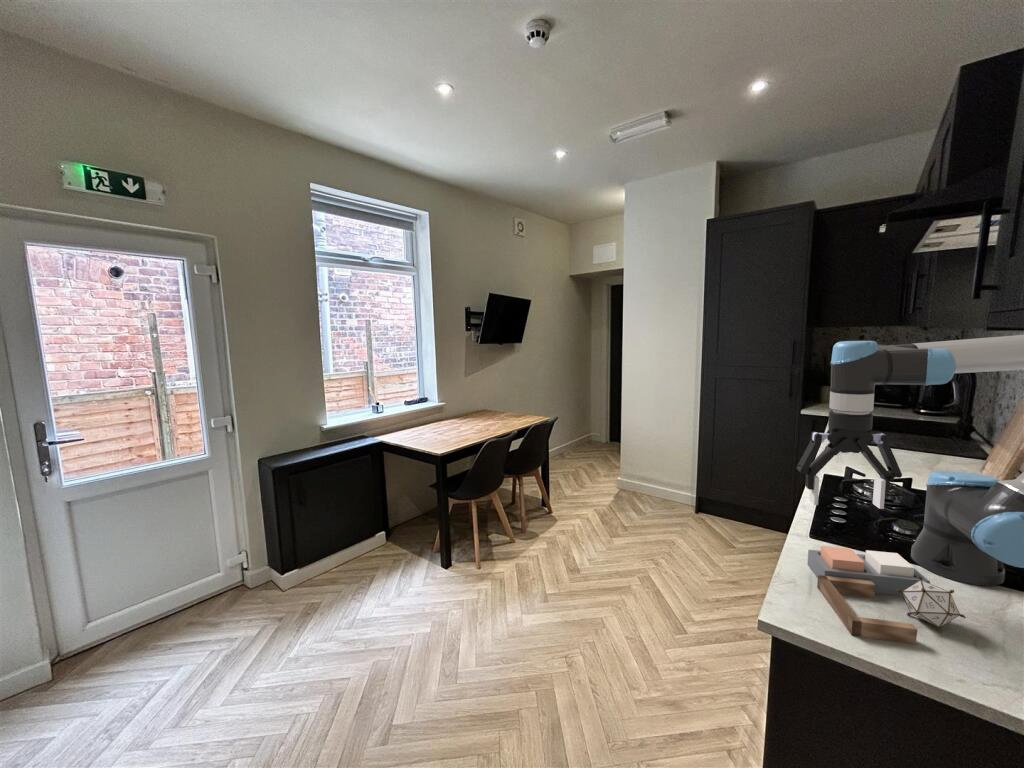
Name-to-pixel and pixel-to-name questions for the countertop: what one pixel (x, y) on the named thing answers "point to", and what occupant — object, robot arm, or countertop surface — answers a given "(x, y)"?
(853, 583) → the walnut bracket
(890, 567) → the ivory key
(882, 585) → the key panel
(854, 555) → the terracotta key
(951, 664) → the countertop surface
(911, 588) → the game die
